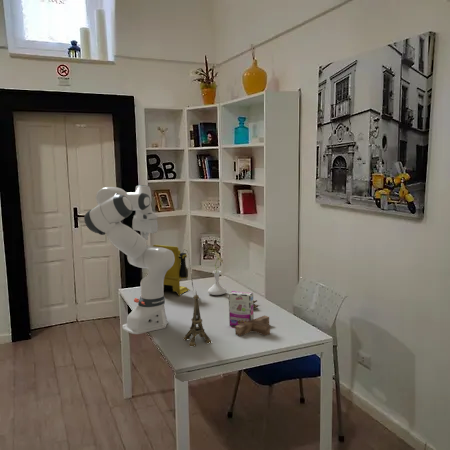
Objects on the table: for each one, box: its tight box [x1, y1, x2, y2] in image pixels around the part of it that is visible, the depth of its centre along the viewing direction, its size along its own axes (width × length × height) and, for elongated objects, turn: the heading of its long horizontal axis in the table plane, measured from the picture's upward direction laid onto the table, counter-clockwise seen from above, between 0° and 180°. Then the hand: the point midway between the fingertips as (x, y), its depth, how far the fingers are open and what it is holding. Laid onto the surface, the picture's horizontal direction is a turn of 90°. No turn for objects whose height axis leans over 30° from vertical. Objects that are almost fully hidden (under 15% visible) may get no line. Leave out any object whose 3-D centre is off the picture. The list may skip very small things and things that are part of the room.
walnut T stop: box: [234, 315, 271, 337], centre depth 212 cm, size 20×11×4 cm, turn 133°
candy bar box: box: [228, 290, 255, 327], centre depth 220 cm, size 11×5×16 cm, turn 68°
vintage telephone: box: [152, 244, 195, 297], centre depth 276 cm, size 31×14×30 cm, turn 63°
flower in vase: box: [207, 252, 227, 296], centre depth 272 cm, size 13×11×25 cm
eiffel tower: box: [183, 292, 212, 347], centre depth 202 cm, size 11×11×25 cm
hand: (145, 239), depth 250 cm, fingers closed
